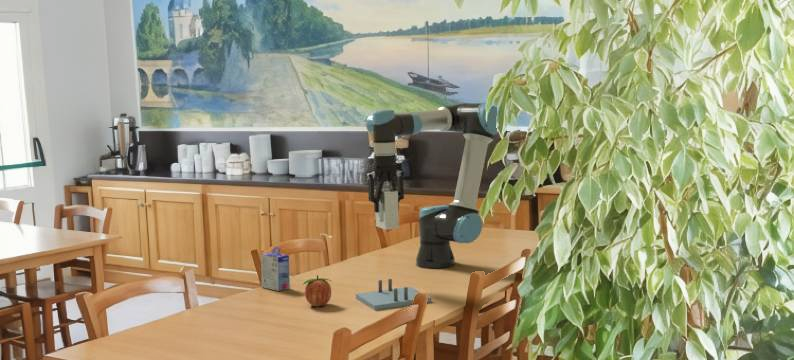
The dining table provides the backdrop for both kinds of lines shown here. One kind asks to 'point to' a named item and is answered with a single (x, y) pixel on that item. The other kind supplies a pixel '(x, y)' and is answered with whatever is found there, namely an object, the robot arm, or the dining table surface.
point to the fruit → (317, 291)
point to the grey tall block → (388, 209)
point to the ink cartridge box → (275, 270)
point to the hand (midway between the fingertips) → (387, 220)
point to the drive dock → (388, 297)
